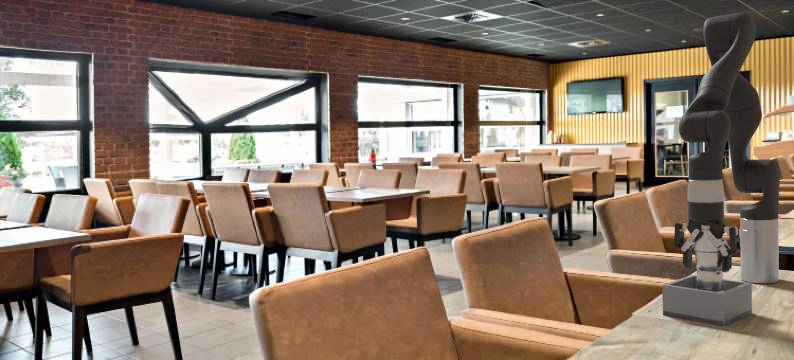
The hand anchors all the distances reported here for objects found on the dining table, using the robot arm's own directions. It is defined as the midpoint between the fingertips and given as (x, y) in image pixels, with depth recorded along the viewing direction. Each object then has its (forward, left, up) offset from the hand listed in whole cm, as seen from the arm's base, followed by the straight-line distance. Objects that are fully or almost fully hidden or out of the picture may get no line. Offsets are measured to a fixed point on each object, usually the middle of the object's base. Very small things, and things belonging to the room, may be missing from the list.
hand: (706, 269), depth 154 cm
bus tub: (0, 0, -10) cm, 10 cm away
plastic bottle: (0, +1, -10) cm, 10 cm away
